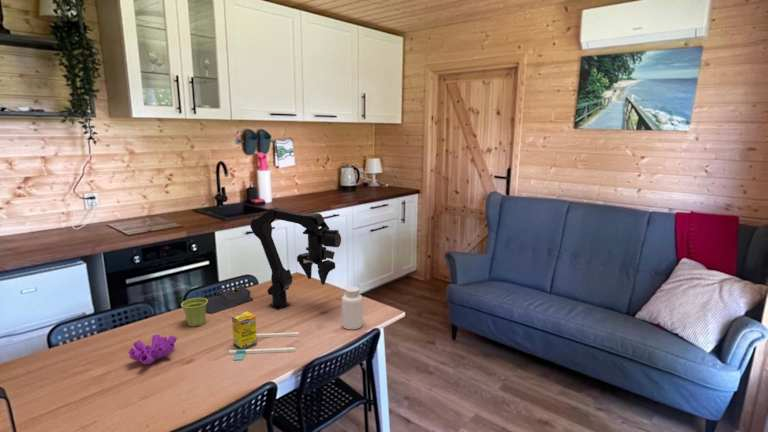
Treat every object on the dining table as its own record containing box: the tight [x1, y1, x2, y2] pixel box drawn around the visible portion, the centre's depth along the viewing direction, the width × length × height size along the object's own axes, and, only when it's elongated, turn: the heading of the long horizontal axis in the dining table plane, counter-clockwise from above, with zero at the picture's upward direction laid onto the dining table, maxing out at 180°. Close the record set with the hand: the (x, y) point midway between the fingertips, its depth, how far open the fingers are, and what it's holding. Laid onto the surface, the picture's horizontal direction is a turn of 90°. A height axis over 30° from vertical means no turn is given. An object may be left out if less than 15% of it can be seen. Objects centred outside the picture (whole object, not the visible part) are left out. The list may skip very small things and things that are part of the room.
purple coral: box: [128, 334, 178, 365], centre depth 139 cm, size 11×15×10 cm
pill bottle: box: [341, 286, 364, 330], centre depth 162 cm, size 8×8×15 cm
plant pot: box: [180, 297, 208, 327], centre depth 164 cm, size 9×9×9 cm
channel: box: [228, 331, 300, 362], centre depth 149 cm, size 22×20×1 cm
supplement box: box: [231, 310, 258, 350], centre depth 148 cm, size 6×6×11 cm
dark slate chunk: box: [206, 285, 254, 315], centre depth 184 cm, size 15×22×5 cm
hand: (316, 281), depth 174 cm, fingers open, 9 cm apart
